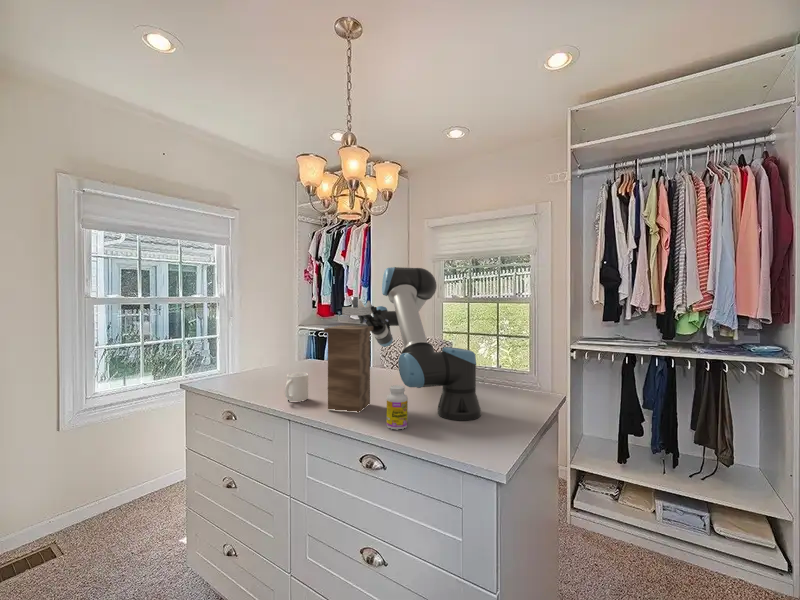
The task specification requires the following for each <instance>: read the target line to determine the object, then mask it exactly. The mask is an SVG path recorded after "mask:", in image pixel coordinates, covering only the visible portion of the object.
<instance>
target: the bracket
mask: <svg viewBox="0 0 800 600" xmlns="http://www.w3.org/2000/svg"><path fill="white" fill-rule="evenodd" d="M358 304H359V297H358V296H351V306H344V307H341V308H342V309H341V311H342V312H341V313H342V316H358V315H371V313H370V307H367V306H364V307H358Z"/></svg>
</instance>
